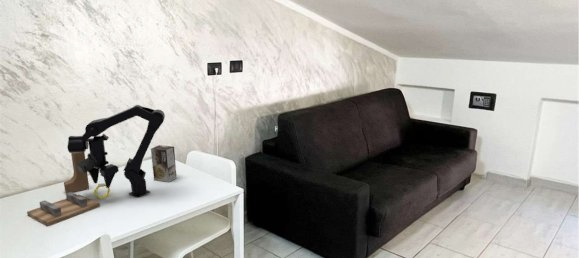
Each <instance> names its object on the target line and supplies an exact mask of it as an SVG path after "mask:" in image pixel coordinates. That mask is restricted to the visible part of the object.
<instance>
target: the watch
mask: <svg viewBox="0 0 579 258" xmlns="http://www.w3.org/2000/svg"><path fill="white" fill-rule="evenodd" d="M104 187H106V184H105V182H103V183H99V184H98V183H97V186H96V187H95V189H94V193H93V194H94V195H95V196H94V197H96V198H98V199H104V198H107V197H108V196H109V195H110V192H111V188H110V187H109V188H107V193H106V194H105V195H102V196H98V194H97V192H98V189H100V188H104Z"/></svg>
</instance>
